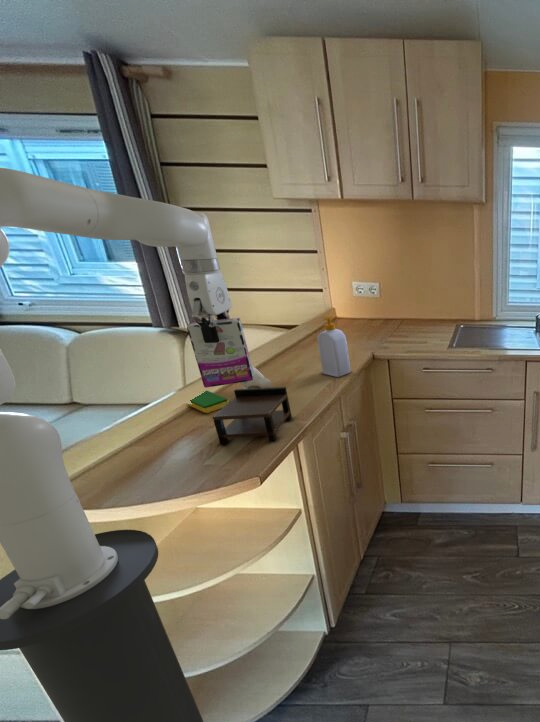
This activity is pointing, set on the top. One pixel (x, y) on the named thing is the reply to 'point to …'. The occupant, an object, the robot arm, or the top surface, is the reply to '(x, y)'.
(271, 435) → the rack
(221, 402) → the dish sponge
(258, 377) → the white rounded lump
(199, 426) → the top surface
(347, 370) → the soap bottle
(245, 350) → the candy bar box
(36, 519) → the robot arm
